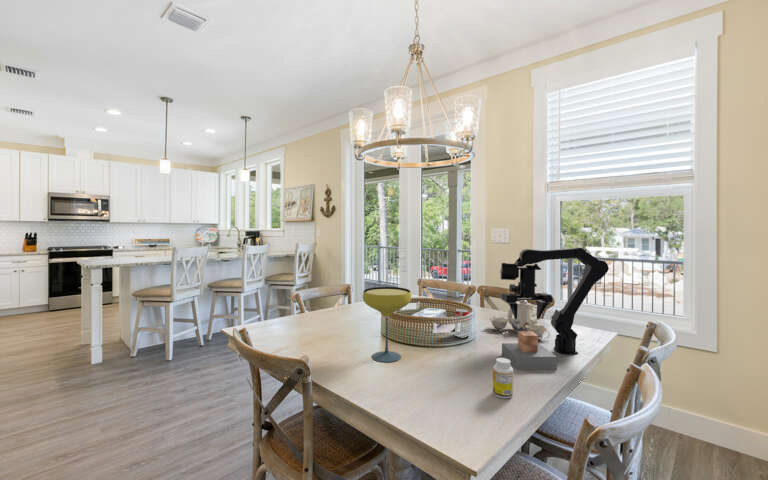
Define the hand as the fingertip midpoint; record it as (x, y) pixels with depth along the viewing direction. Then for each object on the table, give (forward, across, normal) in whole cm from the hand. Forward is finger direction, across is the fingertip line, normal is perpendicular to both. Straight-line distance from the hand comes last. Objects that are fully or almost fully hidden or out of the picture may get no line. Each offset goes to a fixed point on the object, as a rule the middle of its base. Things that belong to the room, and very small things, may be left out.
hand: (526, 319), depth 140 cm
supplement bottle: (+12, +25, +38) cm, 47 cm away
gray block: (+12, +6, +14) cm, 20 cm away
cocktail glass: (+12, +57, +7) cm, 59 cm away
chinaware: (+12, -7, -21) cm, 26 cm away
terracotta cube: (+8, +6, +14) cm, 17 cm away
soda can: (+12, +22, -16) cm, 30 cm away
